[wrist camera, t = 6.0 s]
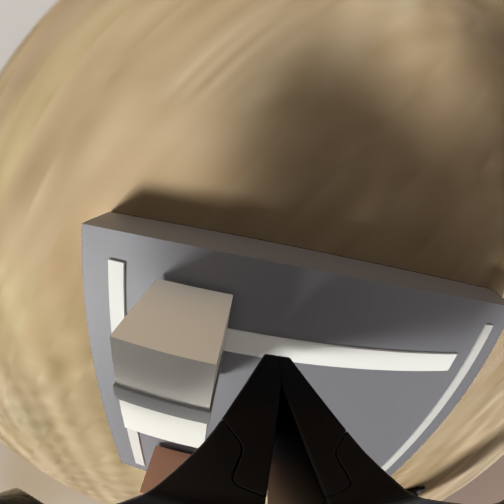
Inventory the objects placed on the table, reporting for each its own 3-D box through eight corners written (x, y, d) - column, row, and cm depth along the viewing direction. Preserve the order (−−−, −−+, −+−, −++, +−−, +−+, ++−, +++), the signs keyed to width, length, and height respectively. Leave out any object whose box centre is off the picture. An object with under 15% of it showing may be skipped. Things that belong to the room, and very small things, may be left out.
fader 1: (234, 295, 8) (218, 368, 5) (219, 379, 10) (204, 452, 6) (155, 278, 8) (105, 338, 5) (154, 363, 10) (122, 429, 6)
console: (491, 289, 10) (514, 307, 8) (370, 469, 15) (375, 490, 13) (109, 211, 10) (79, 224, 8) (130, 441, 15) (120, 463, 13)
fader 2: (201, 456, 12) (190, 507, 8) (197, 480, 13) (189, 522, 10) (154, 444, 12) (138, 493, 8) (158, 470, 13) (146, 511, 10)
